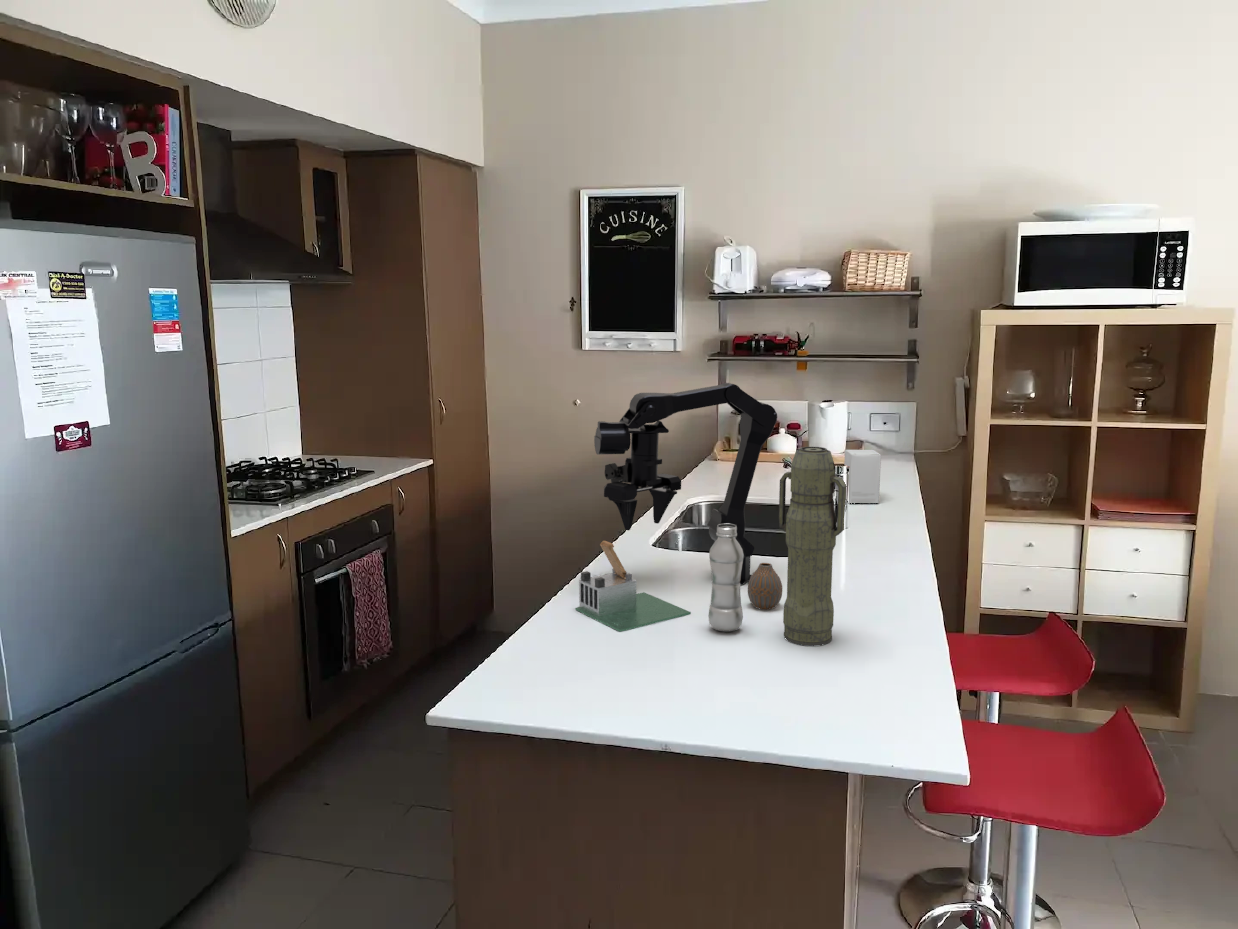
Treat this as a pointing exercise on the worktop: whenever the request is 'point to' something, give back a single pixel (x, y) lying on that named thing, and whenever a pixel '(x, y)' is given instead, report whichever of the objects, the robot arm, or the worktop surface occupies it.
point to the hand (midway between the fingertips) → (642, 526)
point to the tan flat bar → (613, 558)
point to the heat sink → (622, 602)
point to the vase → (765, 587)
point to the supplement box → (863, 475)
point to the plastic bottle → (726, 580)
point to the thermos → (810, 544)
